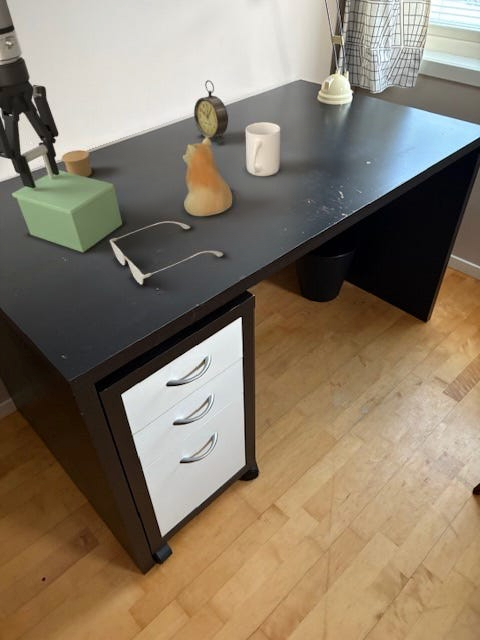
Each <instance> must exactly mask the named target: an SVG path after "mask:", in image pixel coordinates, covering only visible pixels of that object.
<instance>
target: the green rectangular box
mask: <svg viewBox="0 0 480 640" xmlns="http://www.w3.org/2000/svg"><path fill="white" fill-rule="evenodd" d="M16 200H17V203H18V205H19V208H20V211H21V213H22V216H23V218H24V221H25V223H26V226H27V229H28V232H29V234H30V236H33V237H35V238H40V239H42V240H45V241H48V242H50V243H54V244H57V245H60V246H63V247H66V248H68V249H71V250H75V251H78V252H81V253H84V252H86V251H87V250H89V249H90V248H91V247H93V246H94V245H96V244H97V243H98V242H100V241H101V240H103V239H104V238H106V237H107V236H108V235H110V234H111V233H112V232H114V231H116V230H117V229H118V228H119V227H120V226H122V225H123V220H122V217H121V213H120V208H119V203H118V198H117V196H116V190H115V187H114V188H112V189H111V190H109V191H108V192H106V193H105V194H103V195H101V196H100V197H98V198H97V199H95V200H94V201H92V202H90V203H89V204H87V205H86V206H84V207H83V208H81V209H79V210H78V211H76V212H75V213H73V214H68V213H65V212H61V211H58V210H55V209H51V208H48V207H45V206H42V205H38V204H35V203H32V202H28V201H25V200H22V199H18V198H16Z"/></svg>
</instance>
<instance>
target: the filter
mask: <svg viewBox="0 0 480 640" xmlns="http://www.w3.org/2000/svg"><path fill="white" fill-rule="evenodd" d="M89 158H90V153H89V152H88V151H86V150H80V149H79V150H72V151H69V152H66V153H64V154H63V155H62V156H61V160H62V162H64V165H65V168H66V172H68V173H72V174H75V175H79V176H83V177H87V178H88V177H89V176H91V174H93V173H92V167H91V164H90V160H89Z"/></svg>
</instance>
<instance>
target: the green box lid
mask: <svg viewBox="0 0 480 640" xmlns="http://www.w3.org/2000/svg"><path fill="white" fill-rule="evenodd" d="M47 152H48V150H47V148H46V146H45V145H40V146H39V145H38V146H36V147H34V148H32V149H29V150H27V151H25V152H23V153H22V154H21V156H25V157H26V160H27V163H28V166H29V169H30V172H31V175H32V178H33V180H34V183H35V186H36V187H35V188H29V187H26V186H24V187H21V188H20V189H17V190H16V191H14V192H12V193H11V195H12V197H13V198H16V199H17V198H18V199H22V200H25V201H28V202H32V203H35V204H38V205H42V206H45V207H48V208H51V209H55V210H58V211H61V212H65V213H68V214H73V213H75V212H76V211H78V210H79V209H81V208H83V207H84V206H86V205H87V204H89V203H90V202H92V201H94V200H95V199H97V198H98V197H100V196H101V195H103V194H105V193H106V192H108V191H109V190H111V189H112V188H114V189H115V185H114V183H110V182H106V181H103V180H98V179H95V178H91V177H88V176H87V177H83V176H79V175H75V174H72V173H68V171H64V170H60V169H58V170H59V175H54V174H53V173H52V170H51V167H50V164H49V160H48V157H47V154H46V153H47ZM39 157H42V160H43V162H44V163H43V164H44V166H45V168H46V172H47V174H46V175H44V176H42V177H40V178H38V179H37V180H35V178H34V176H33V174H32V171H31V168H30V165H29V163H30V162H33V161H34V160H35V159H38V158H39Z"/></svg>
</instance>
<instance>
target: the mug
mask: <svg viewBox="0 0 480 640" xmlns="http://www.w3.org/2000/svg"><path fill="white" fill-rule="evenodd" d="M245 157H246V158H245V159H246V160H245V162H246V170H247V172H248V173H249V174H251V175H252V176H256V177H269V176H273V175H275V174H276V173H278V171H279V170H280V164H281V163H280V162H281V161H280V160H281V159H280V158H281V126H280V125H278V124H276V123H273V122H255V123H251V124H248V125H247V126H246V127H245Z"/></svg>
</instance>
